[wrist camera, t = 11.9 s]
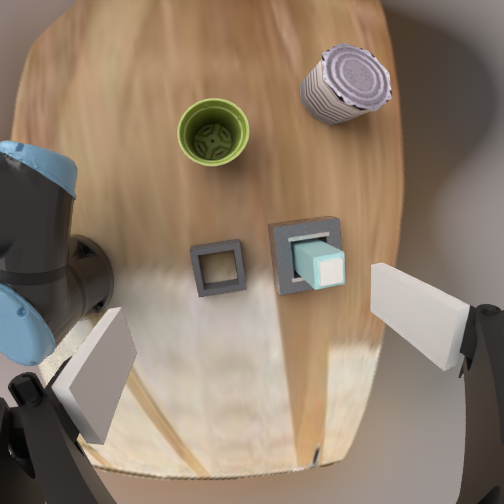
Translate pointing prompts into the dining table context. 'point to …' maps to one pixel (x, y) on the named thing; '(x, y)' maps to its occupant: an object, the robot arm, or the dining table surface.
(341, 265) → the plug
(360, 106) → the can
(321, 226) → the port block
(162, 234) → the dining table surface
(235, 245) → the holster
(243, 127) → the plant pot
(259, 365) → the dining table surface
